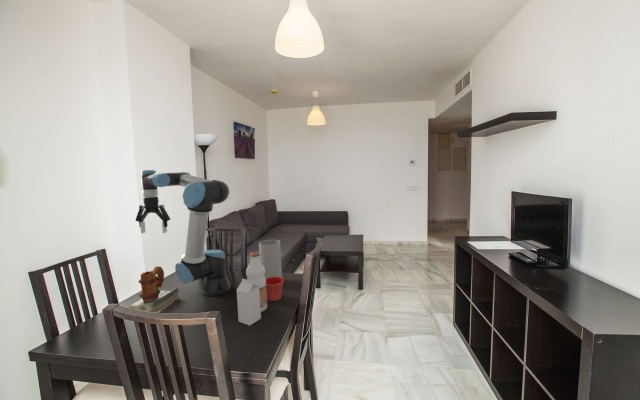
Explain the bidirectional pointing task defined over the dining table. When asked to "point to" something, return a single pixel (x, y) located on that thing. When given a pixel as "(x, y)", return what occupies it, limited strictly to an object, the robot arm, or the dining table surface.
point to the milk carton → (248, 302)
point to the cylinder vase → (271, 257)
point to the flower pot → (274, 288)
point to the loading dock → (157, 301)
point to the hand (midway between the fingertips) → (154, 232)
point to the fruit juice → (257, 277)
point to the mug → (151, 284)
